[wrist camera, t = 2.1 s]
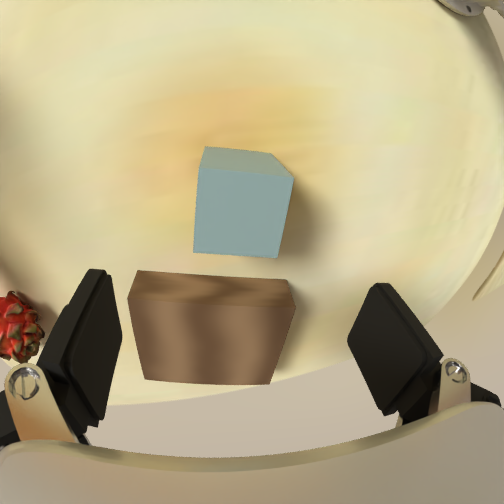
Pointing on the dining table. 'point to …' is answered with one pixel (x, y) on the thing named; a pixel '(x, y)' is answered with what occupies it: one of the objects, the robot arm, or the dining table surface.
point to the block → (240, 203)
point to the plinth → (209, 327)
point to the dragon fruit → (18, 329)
